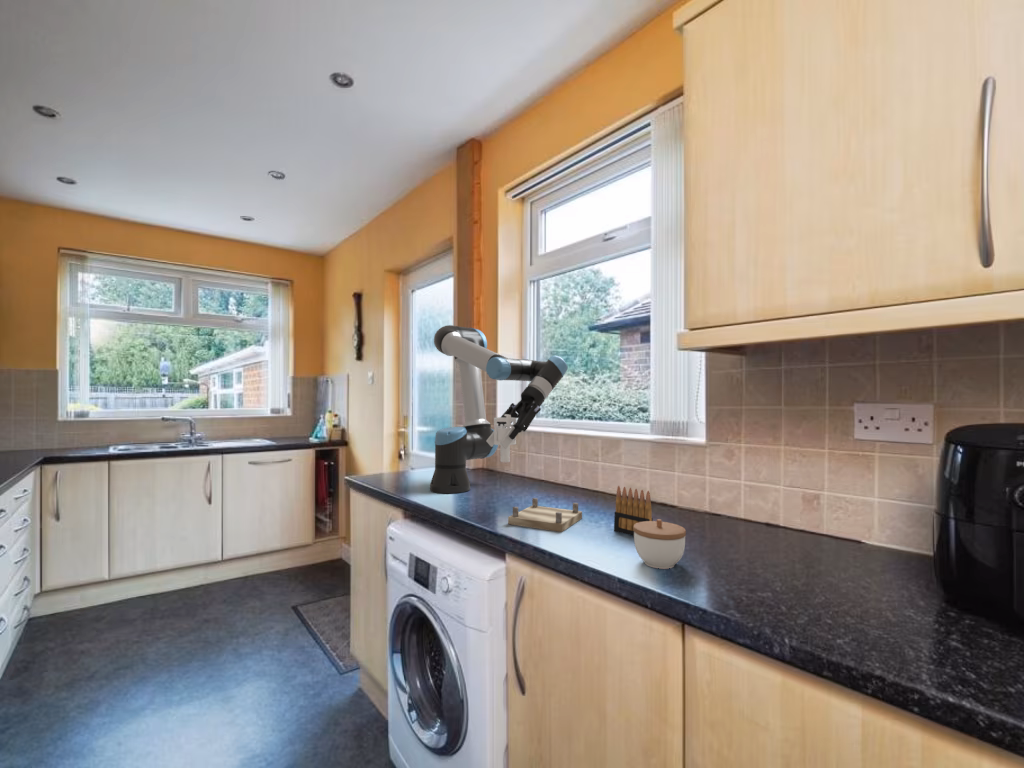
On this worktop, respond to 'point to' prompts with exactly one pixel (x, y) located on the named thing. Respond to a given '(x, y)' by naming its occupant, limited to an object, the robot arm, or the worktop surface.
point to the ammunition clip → (631, 510)
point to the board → (545, 517)
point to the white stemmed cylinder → (503, 435)
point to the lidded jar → (659, 543)
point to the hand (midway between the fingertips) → (496, 444)
